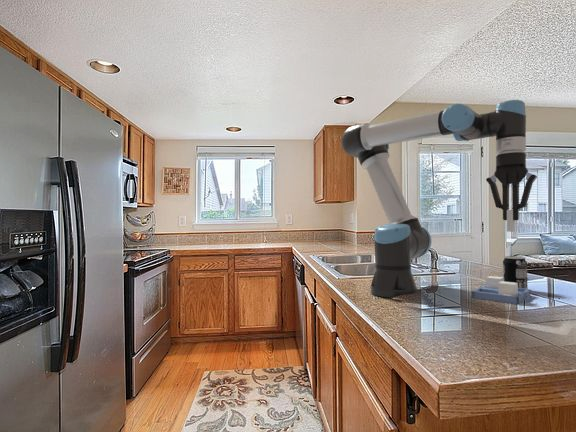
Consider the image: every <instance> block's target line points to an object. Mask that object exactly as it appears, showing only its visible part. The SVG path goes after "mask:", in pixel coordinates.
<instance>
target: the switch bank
mask: <svg viewBox="0 0 576 432" xmlns="http://www.w3.org/2000/svg"><path fill="white" fill-rule="evenodd" d="M530 297H531V288H530V289H529V288H528V289H523V288H518V295H517V296H512V295H507V294H503V295H502V294H498V289H494V288H487V287H486V284H484V285H482V286H479V287H478V288H476V289H473V290H471V299H478V300H486V301H493V302H500V303H507V304H514V305H521V303H523V302H524V301H526V300H527V299H528V298H530Z"/></svg>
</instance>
